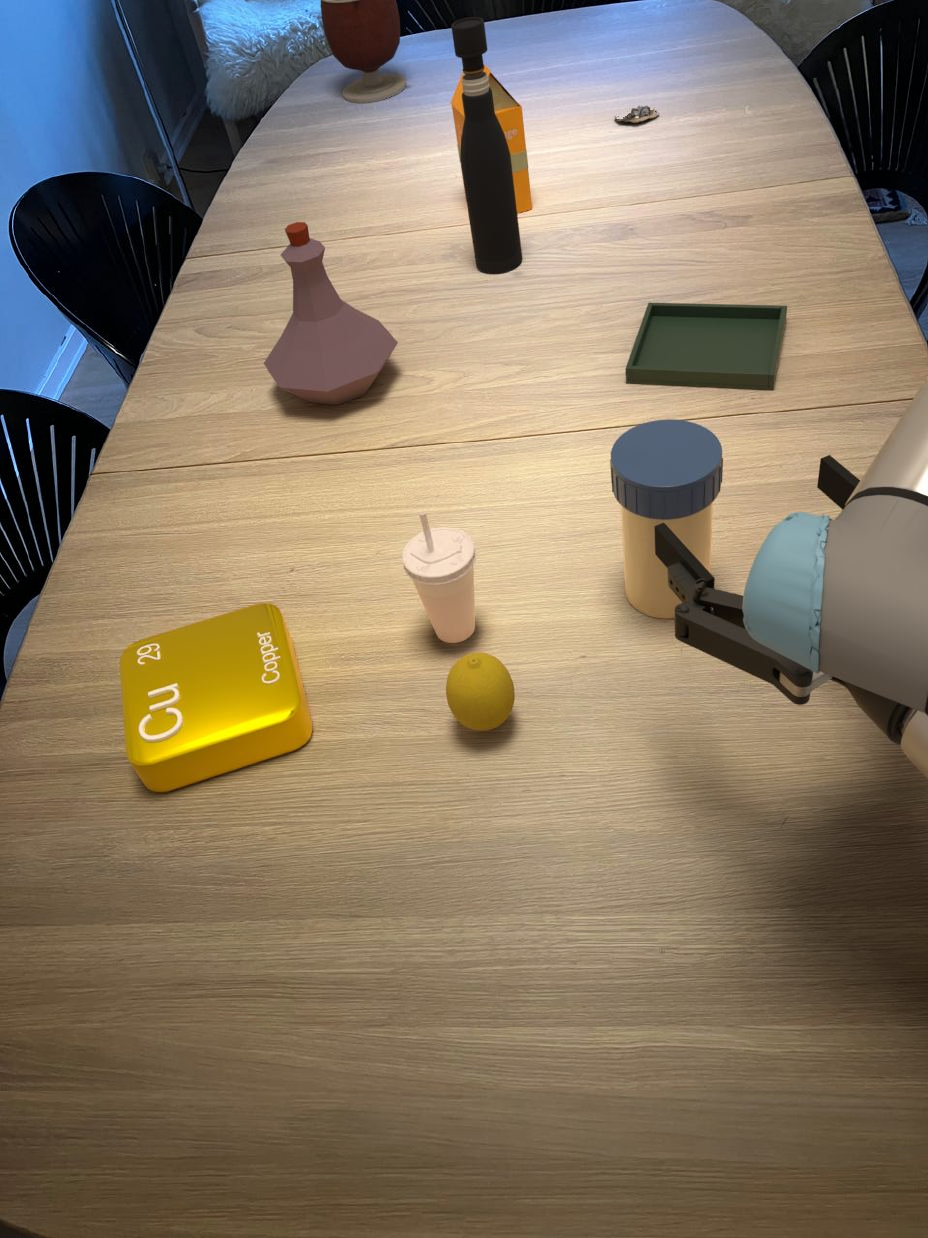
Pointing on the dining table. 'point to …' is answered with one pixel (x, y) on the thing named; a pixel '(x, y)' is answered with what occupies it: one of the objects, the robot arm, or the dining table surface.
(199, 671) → the element tile
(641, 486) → the lid
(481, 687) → the lemon
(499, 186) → the black water bottle
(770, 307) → the tray
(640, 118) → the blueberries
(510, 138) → the orange juice
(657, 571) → the jar
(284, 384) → the flask
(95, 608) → the dining table surface
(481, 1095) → the dining table surface
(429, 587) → the smoothie
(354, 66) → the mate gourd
